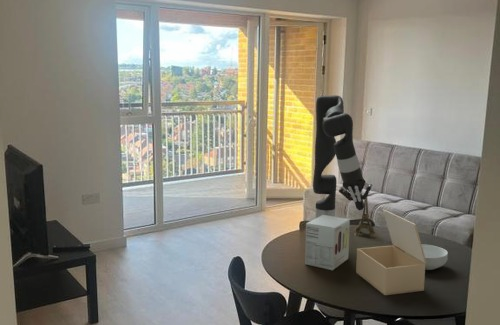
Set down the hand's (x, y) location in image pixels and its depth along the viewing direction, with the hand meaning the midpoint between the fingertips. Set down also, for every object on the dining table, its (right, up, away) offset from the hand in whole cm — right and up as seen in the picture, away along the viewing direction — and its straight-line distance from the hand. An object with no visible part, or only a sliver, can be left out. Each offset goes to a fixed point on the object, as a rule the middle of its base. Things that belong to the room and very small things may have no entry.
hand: (361, 209), depth 179 cm
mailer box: (+12, -28, +5) cm, 31 cm away
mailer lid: (+17, -10, +4) cm, 20 cm away
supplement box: (-8, -25, +26) cm, 37 cm away
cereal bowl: (+31, -26, +20) cm, 46 cm away
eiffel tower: (+17, -19, +65) cm, 70 cm away
